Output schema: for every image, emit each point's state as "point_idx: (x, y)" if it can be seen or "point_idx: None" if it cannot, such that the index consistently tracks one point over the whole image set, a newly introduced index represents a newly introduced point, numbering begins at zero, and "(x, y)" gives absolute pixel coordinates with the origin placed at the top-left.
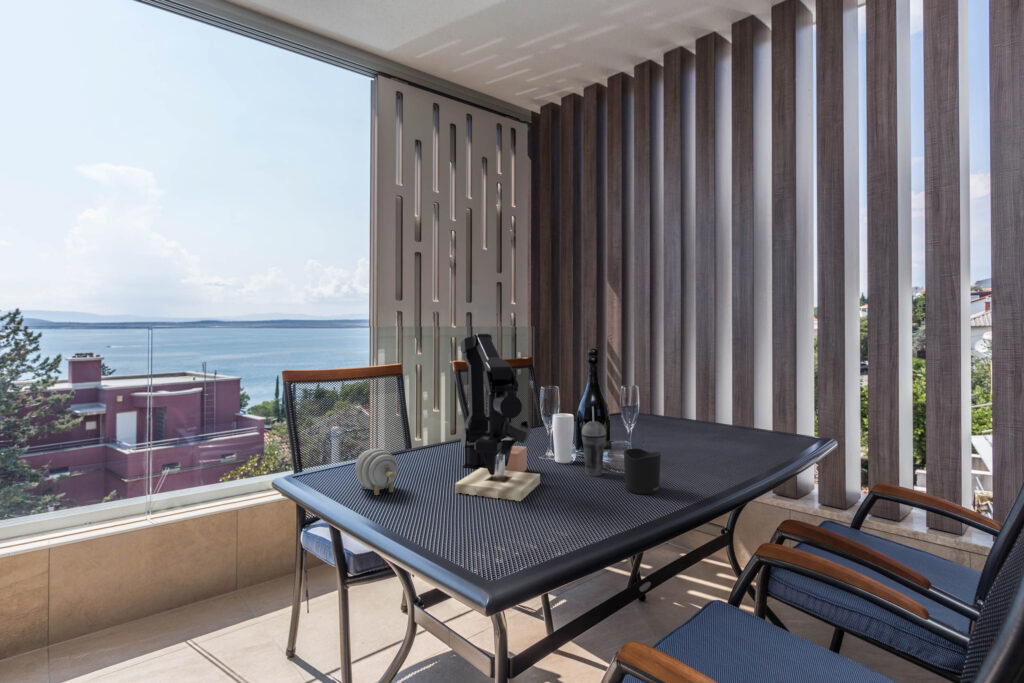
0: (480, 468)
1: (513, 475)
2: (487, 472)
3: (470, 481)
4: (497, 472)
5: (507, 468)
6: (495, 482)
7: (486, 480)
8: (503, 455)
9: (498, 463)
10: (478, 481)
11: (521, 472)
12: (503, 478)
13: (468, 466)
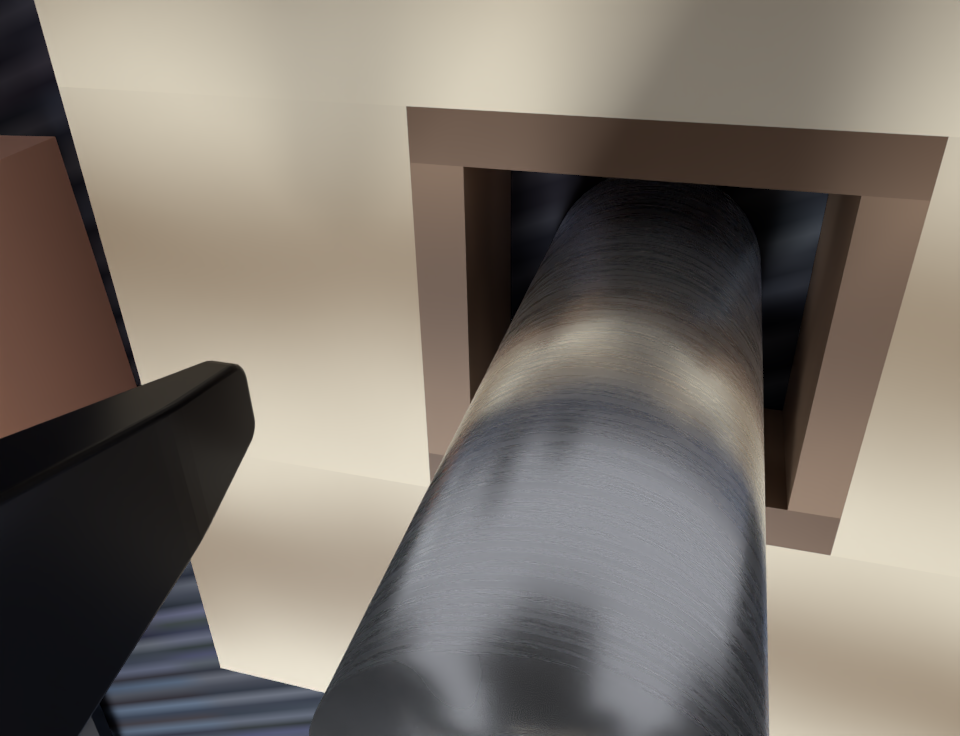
0: (248, 664)
1: (325, 130)
2: (370, 571)
3: (924, 719)
4: (762, 446)
5: (18, 351)
6: (932, 351)
7: (812, 522)
8: (595, 692)
9: (761, 597)
10: (904, 623)
11: (67, 32)
12: (684, 256)
13: (96, 719)
